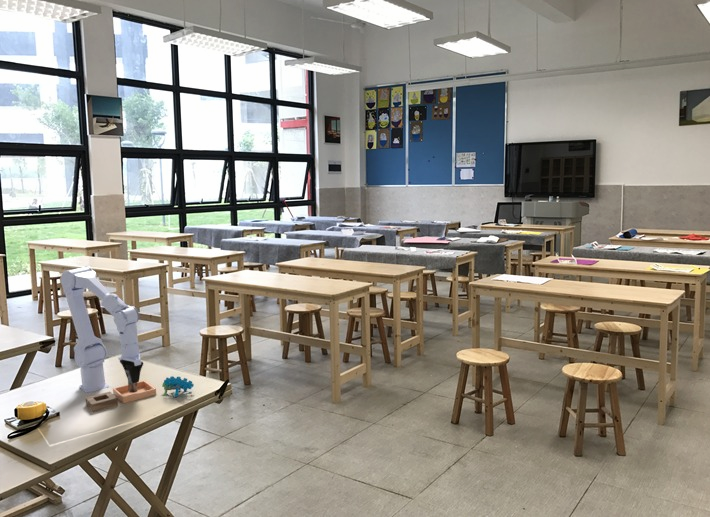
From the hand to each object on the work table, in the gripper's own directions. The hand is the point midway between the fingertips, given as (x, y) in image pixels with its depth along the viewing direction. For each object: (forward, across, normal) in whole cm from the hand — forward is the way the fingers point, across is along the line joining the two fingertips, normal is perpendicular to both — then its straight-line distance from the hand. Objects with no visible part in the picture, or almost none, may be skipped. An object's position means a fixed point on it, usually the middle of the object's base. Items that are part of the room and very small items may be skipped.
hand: (133, 380), depth 209 cm
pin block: (+5, +2, -12) cm, 13 cm away
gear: (+6, +9, +12) cm, 16 cm away
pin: (+4, 0, 0) cm, 4 cm away
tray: (+5, 0, 0) cm, 5 cm away
